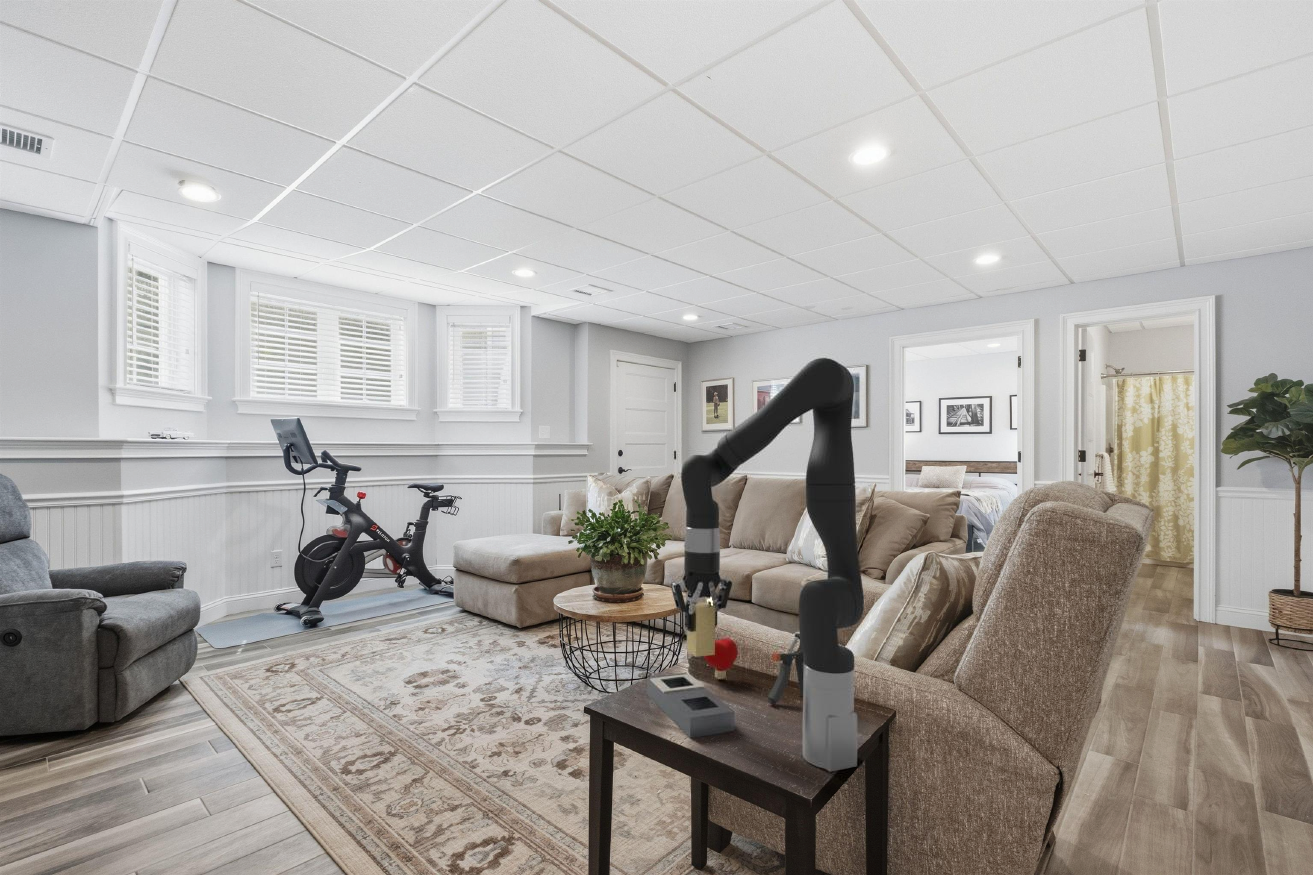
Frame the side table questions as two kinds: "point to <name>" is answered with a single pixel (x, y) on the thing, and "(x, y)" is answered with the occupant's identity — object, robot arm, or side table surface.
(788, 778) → the side table surface
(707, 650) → the brass block
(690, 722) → the grey peg holder block
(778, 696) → the hand grip strengthener
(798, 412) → the robot arm
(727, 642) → the red two-lobed part
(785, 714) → the side table surface
